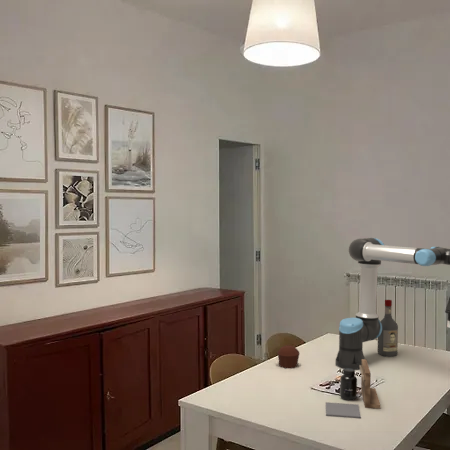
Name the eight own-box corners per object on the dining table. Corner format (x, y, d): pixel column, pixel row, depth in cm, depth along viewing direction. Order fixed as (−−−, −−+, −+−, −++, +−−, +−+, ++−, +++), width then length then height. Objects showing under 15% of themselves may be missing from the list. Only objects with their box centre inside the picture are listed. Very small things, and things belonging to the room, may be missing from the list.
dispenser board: (362, 407, 215) (362, 372, 214) (358, 390, 235) (359, 359, 234) (380, 408, 214) (380, 374, 213) (375, 391, 233) (375, 360, 233)
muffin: (285, 361, 279) (285, 342, 279) (303, 365, 272) (303, 345, 272) (272, 366, 270) (272, 346, 270) (291, 370, 263) (291, 350, 263)
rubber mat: (326, 415, 206) (326, 414, 206) (325, 403, 219) (325, 402, 219) (360, 418, 204) (360, 416, 204) (358, 405, 216) (358, 404, 216)
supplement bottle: (347, 401, 221) (347, 373, 221) (336, 396, 227) (337, 368, 227) (360, 399, 224) (360, 370, 224) (349, 394, 230) (349, 366, 230)
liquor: (375, 352, 297) (376, 299, 296) (389, 351, 299) (390, 298, 298) (385, 357, 288) (386, 302, 287) (399, 356, 291) (400, 301, 290)
